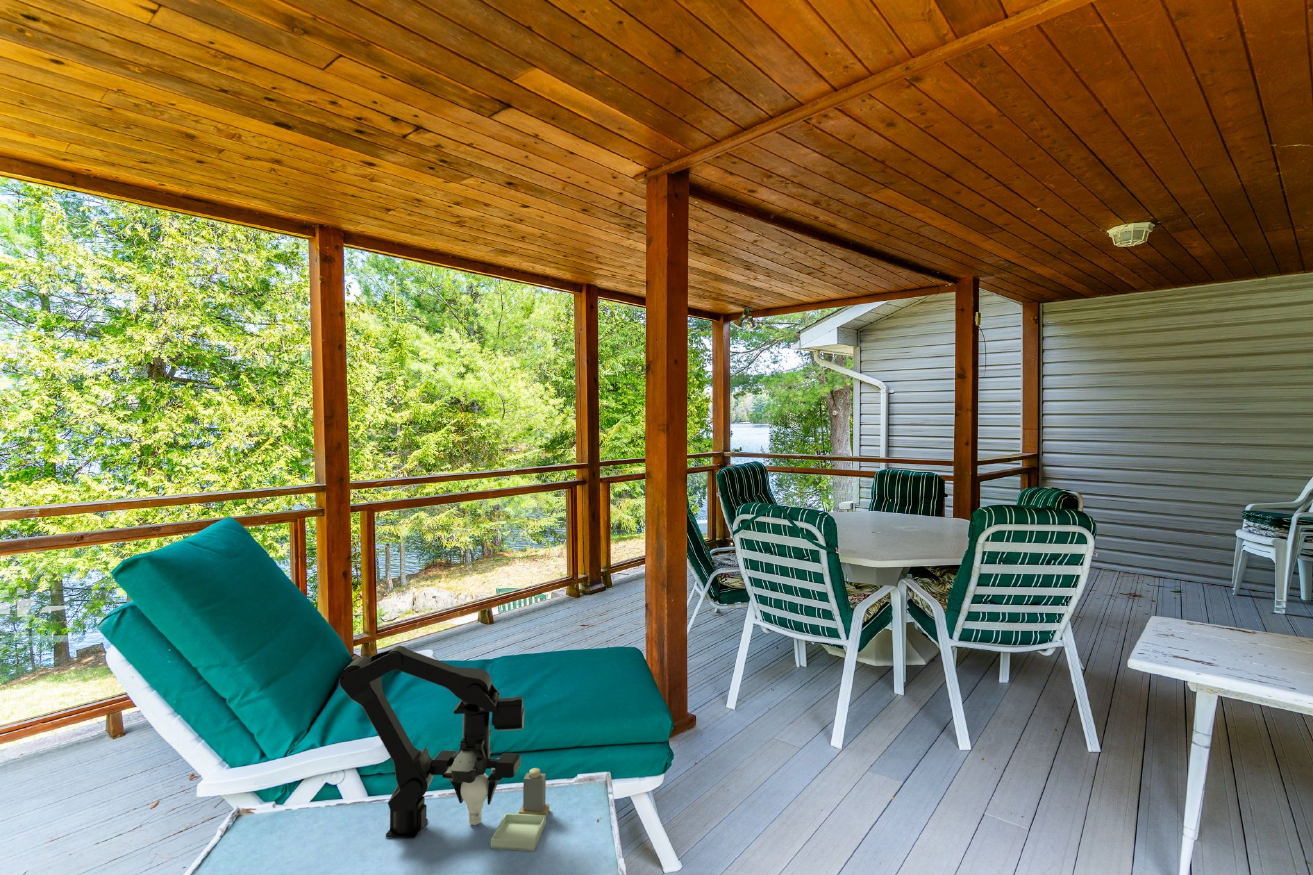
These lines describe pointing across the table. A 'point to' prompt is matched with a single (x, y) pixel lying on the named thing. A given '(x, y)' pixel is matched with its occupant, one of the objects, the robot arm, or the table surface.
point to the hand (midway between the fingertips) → (475, 803)
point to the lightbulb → (475, 797)
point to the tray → (518, 832)
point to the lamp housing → (534, 794)
